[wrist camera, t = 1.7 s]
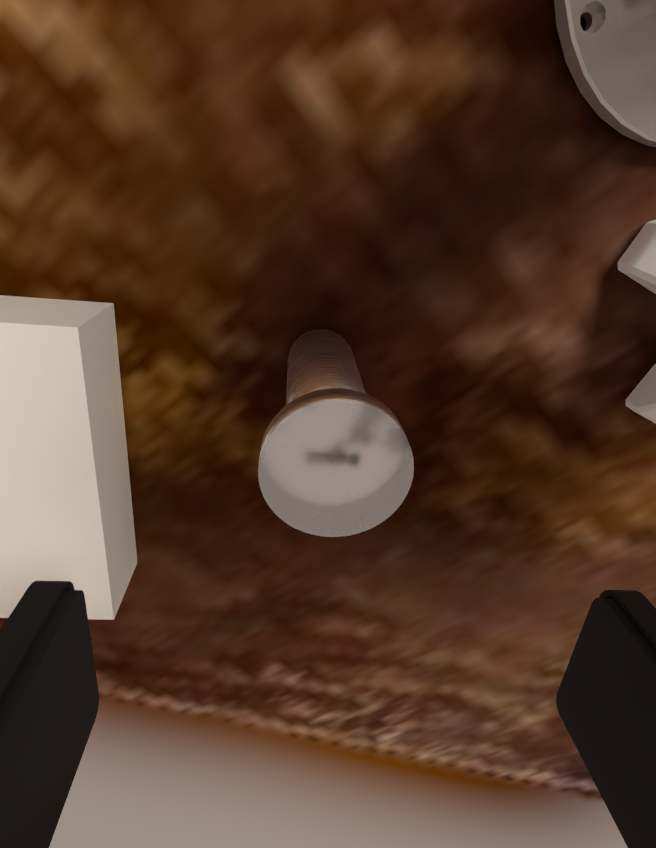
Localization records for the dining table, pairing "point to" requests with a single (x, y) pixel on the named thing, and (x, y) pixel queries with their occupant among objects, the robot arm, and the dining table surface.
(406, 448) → the steel pin
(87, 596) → the clevis block
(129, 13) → the dining table surface
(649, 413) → the toy gun turret
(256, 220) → the dining table surface
